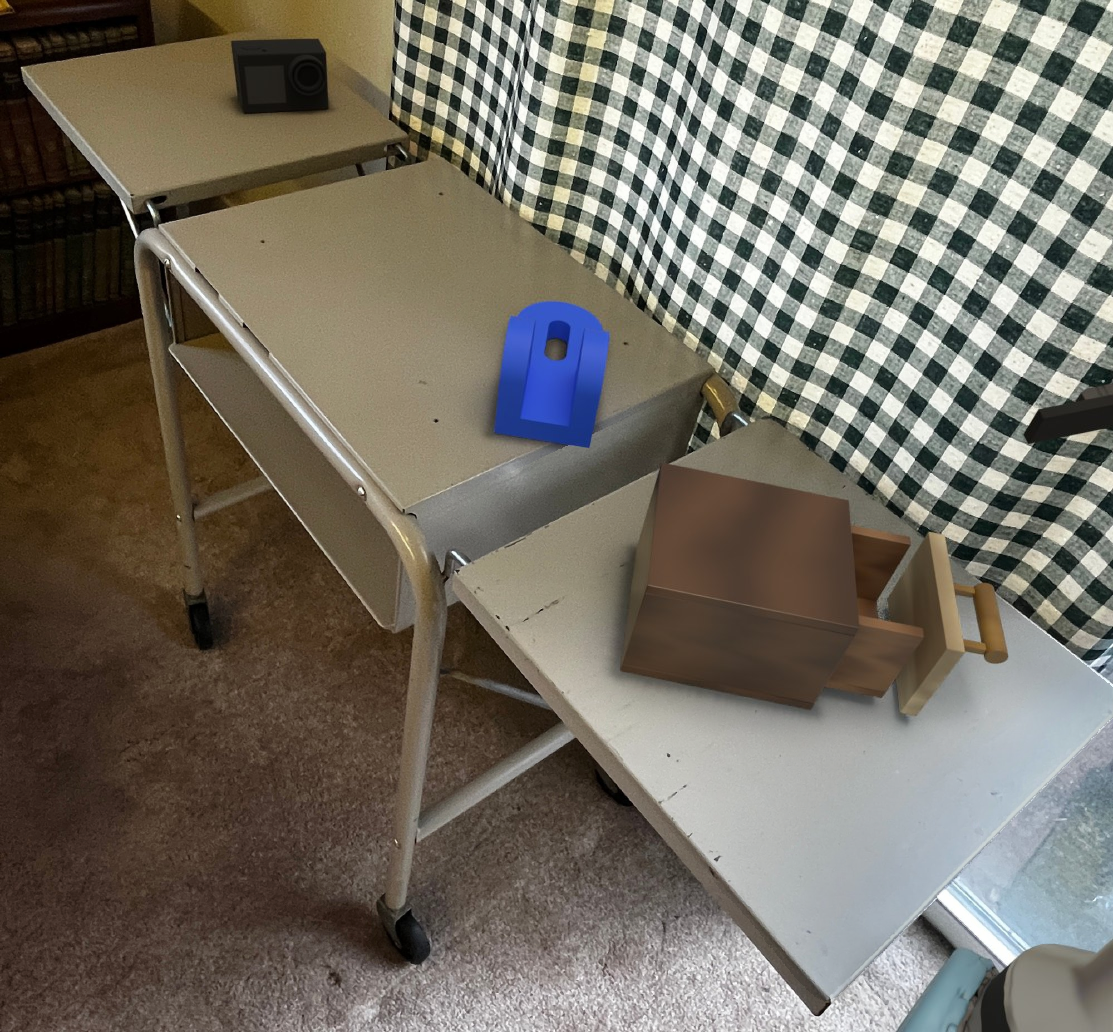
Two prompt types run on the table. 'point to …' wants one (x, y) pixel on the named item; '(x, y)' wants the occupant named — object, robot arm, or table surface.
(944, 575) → the drawer
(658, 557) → the cabinet
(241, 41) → the digital camera
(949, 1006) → the robot arm
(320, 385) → the table surface
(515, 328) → the bracket
